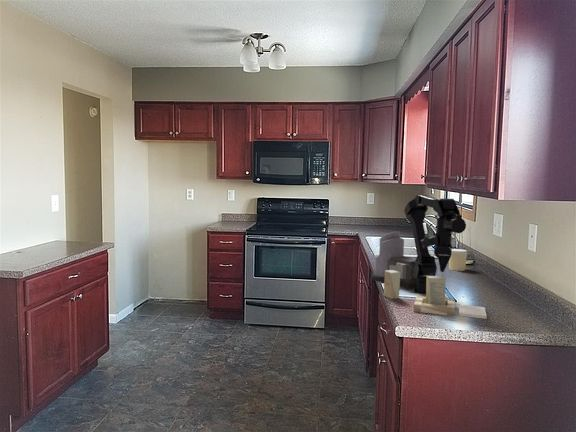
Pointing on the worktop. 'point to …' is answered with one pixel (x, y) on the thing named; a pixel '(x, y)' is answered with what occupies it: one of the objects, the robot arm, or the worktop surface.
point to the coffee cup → (458, 260)
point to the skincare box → (435, 290)
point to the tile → (472, 311)
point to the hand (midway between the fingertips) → (442, 269)
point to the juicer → (394, 260)
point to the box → (391, 284)
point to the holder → (434, 307)
